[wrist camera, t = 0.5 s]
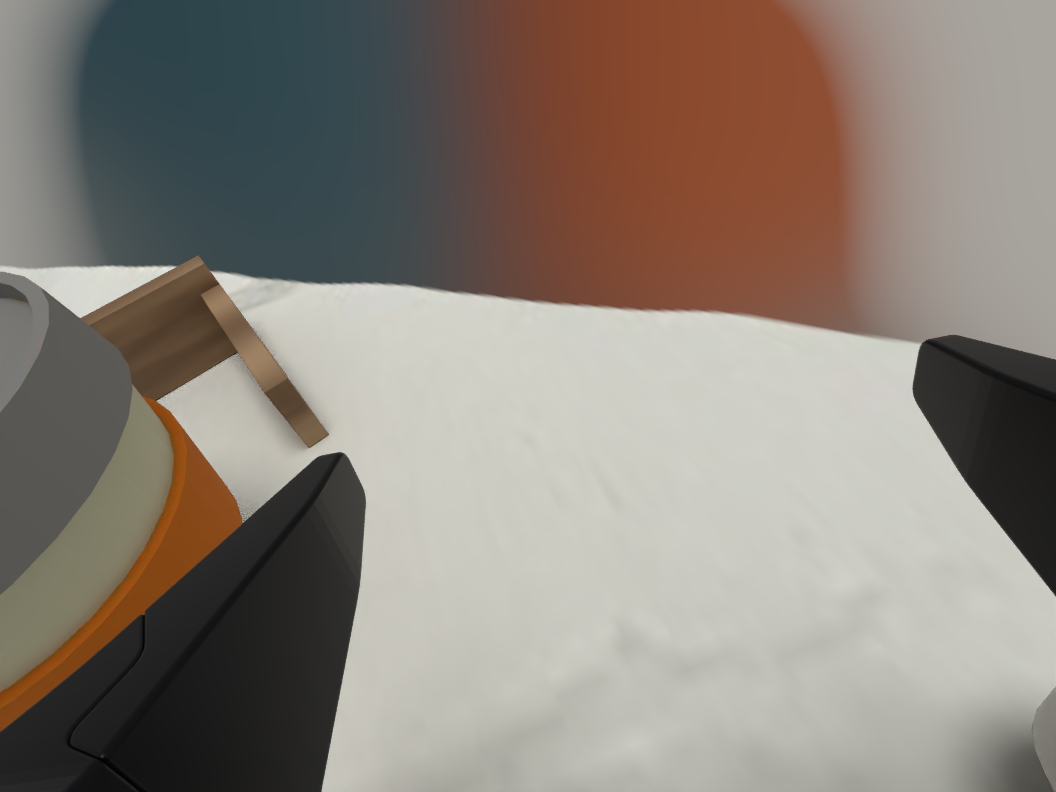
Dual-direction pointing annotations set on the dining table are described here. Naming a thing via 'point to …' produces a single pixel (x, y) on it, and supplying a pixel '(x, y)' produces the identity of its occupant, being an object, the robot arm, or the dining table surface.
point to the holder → (194, 340)
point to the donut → (1046, 736)
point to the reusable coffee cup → (85, 496)
